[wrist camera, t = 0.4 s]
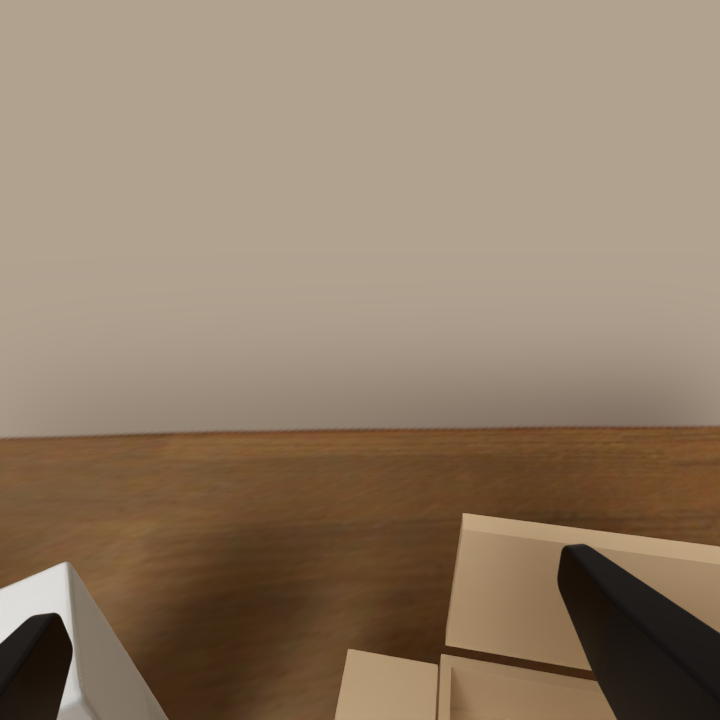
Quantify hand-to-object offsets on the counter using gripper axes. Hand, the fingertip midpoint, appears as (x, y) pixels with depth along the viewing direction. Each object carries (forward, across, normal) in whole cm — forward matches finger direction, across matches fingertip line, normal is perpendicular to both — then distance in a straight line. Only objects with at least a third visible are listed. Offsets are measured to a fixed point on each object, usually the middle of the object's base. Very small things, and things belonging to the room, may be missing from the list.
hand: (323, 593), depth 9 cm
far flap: (+5, -9, +11) cm, 15 cm away
